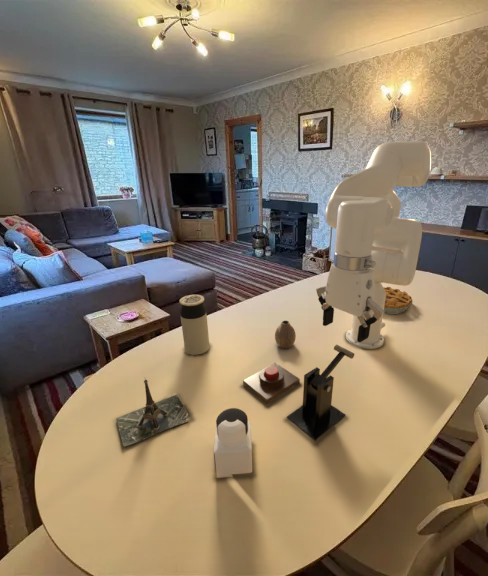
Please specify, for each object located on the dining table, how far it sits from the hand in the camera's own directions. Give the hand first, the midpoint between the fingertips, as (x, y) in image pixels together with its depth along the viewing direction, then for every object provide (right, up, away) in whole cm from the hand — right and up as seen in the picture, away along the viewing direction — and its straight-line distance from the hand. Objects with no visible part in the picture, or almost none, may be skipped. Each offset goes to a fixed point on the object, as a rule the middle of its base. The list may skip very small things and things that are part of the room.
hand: (344, 331), depth 72 cm
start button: (-17, -14, +12) cm, 25 cm away
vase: (-12, -9, +32) cm, 36 cm away
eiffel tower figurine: (-45, -22, +2) cm, 50 cm away
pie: (+32, +3, +61) cm, 69 cm away
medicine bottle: (-25, -26, -8) cm, 37 cm away
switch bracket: (-6, -21, +2) cm, 22 cm away
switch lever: (-3, -9, +1) cm, 10 cm away
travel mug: (-42, -10, +30) cm, 52 cm away
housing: (-17, -17, +13) cm, 27 cm away
